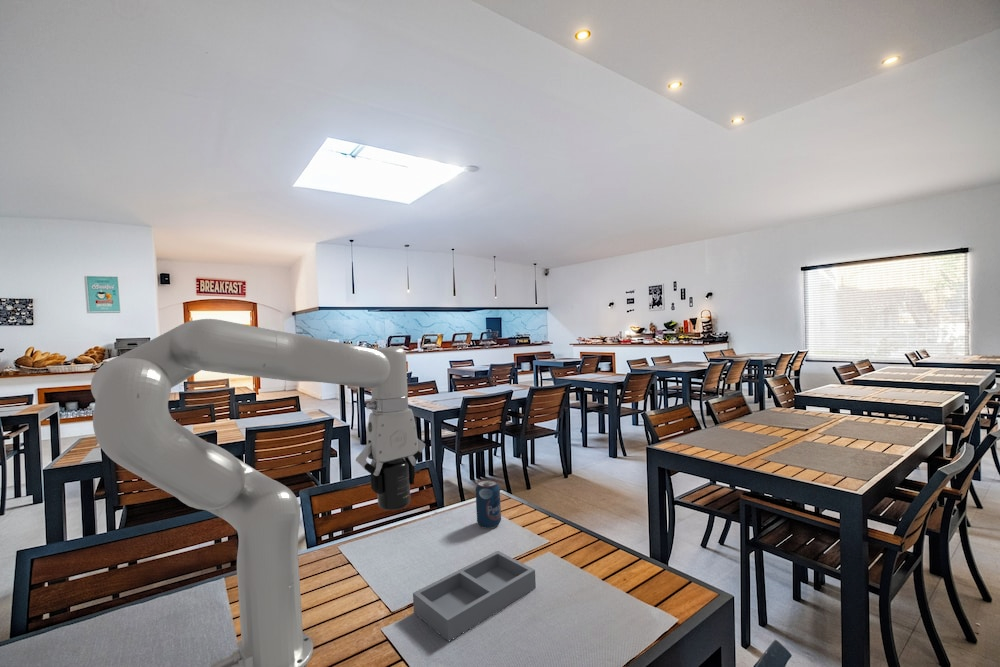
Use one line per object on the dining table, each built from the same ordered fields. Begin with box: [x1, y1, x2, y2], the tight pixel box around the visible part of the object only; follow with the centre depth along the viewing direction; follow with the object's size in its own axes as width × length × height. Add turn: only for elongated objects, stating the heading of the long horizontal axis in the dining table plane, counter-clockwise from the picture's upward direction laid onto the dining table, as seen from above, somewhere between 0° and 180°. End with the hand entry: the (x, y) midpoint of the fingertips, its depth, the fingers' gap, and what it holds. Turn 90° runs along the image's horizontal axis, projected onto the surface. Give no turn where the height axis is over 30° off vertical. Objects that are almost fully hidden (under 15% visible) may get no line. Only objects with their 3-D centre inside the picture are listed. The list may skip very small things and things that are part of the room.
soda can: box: [475, 478, 502, 529], centre depth 130 cm, size 7×7×12 cm
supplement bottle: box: [377, 458, 411, 511], centre depth 98 cm, size 7×7×12 cm
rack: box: [412, 550, 537, 642], centre depth 95 cm, size 23×12×4 cm, turn 132°
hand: (393, 486), depth 98 cm, fingers closed on supplement bottle, 6 cm apart
